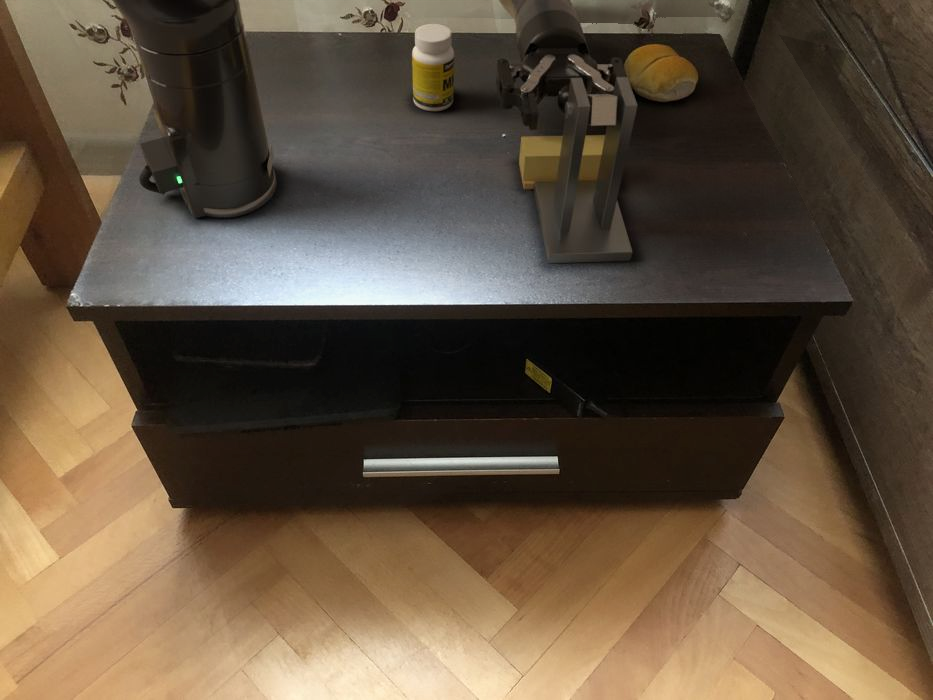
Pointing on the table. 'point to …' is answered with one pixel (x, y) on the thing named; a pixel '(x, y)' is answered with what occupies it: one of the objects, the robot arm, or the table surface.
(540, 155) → the butter
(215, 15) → the robot arm
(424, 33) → the supplement bottle
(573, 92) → the stand
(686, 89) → the bread roll
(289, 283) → the table surface
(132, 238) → the table surface
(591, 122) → the knife lever
